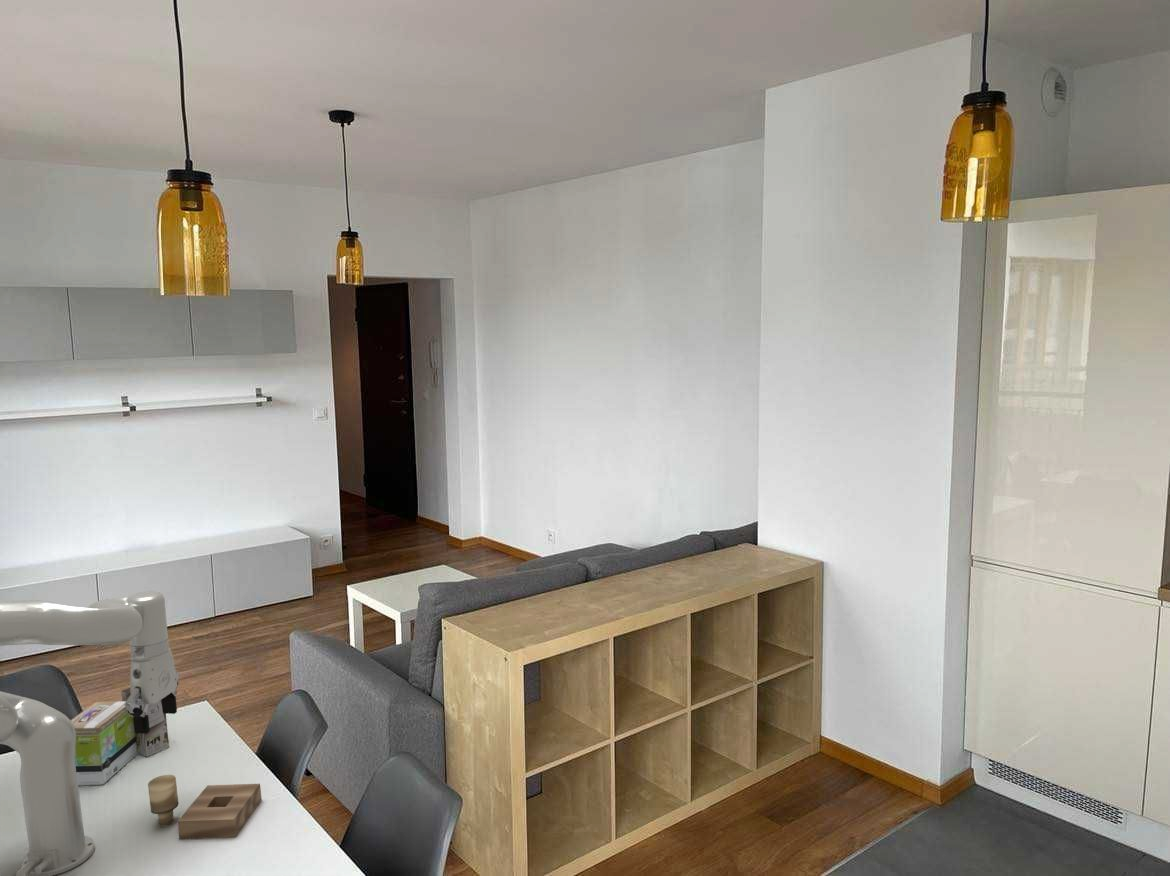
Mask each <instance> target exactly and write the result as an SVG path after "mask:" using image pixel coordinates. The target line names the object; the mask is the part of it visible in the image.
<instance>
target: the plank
mask: <svg viewBox="0 0 1170 876" xmlns="http://www.w3.org/2000/svg"><path fill="white" fill-rule="evenodd" d="M262 800H263V799H262V790H261V783H242V784H241V783H239V784H238V783H237V784H211V785H210V784H209V785H206V786H205V787H204V789H203V790H202V791H201V793H200V794H199V795H198V796H197V797H196V798H195V799H194V801H193V802H192V803H191V805H190V806H188V807H187V809H186V810H185V811H184V812H183V814H182V815H181V816H180V818H178V820H176V821H177V830H178V839H179V840H185V839H187V840H189V839H191V840H192V839H213V838H236V837H237V836H238V834H240V831H241V830H242V829H243V827H244V826H245V825H246V823H247V822H248V820H249V819H250V817H251V816H252V814H253V813H254V812H255V811H256V809H257V808H258V806H259V804H260V803H261V802H262Z"/></svg>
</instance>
